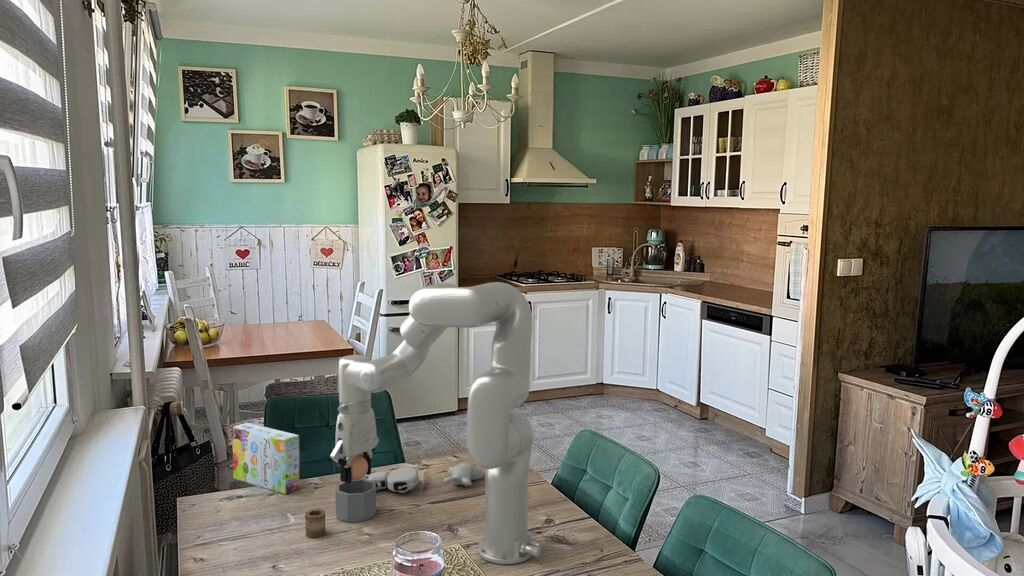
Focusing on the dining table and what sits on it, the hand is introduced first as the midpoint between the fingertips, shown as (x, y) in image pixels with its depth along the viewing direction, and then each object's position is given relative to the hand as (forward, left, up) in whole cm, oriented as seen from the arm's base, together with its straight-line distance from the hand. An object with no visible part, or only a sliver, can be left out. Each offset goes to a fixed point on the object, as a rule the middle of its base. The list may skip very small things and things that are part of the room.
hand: (355, 477), depth 175 cm
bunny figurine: (-10, -31, -10) cm, 34 cm away
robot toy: (+4, -17, -10) cm, 20 cm away
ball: (0, 0, +2) cm, 2 cm away
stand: (0, +13, -9) cm, 16 cm away
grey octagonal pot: (0, 0, -9) cm, 9 cm away
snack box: (+34, 0, -10) cm, 35 cm away
